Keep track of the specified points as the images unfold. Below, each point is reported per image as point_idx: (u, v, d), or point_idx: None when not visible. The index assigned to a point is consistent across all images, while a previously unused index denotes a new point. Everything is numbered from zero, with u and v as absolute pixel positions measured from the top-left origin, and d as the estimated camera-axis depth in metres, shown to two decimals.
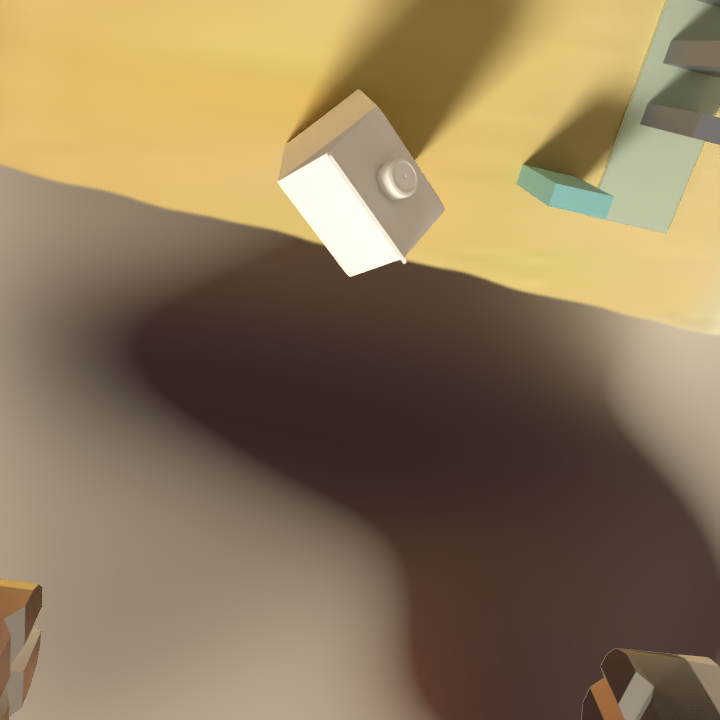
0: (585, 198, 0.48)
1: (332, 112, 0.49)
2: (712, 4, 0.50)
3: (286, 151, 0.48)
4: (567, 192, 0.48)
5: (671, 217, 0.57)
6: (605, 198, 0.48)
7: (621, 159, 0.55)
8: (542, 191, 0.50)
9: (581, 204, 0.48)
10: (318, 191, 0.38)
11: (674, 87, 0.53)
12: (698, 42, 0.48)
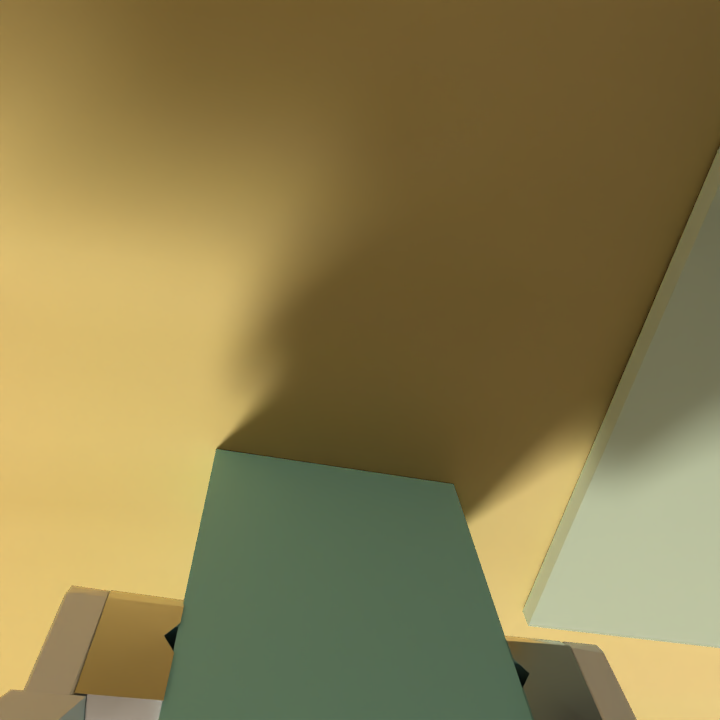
0: None
1: None
2: None
3: None
4: None
5: None
6: None
7: (663, 427, 0.12)
8: None
9: None
10: None
11: None
12: None
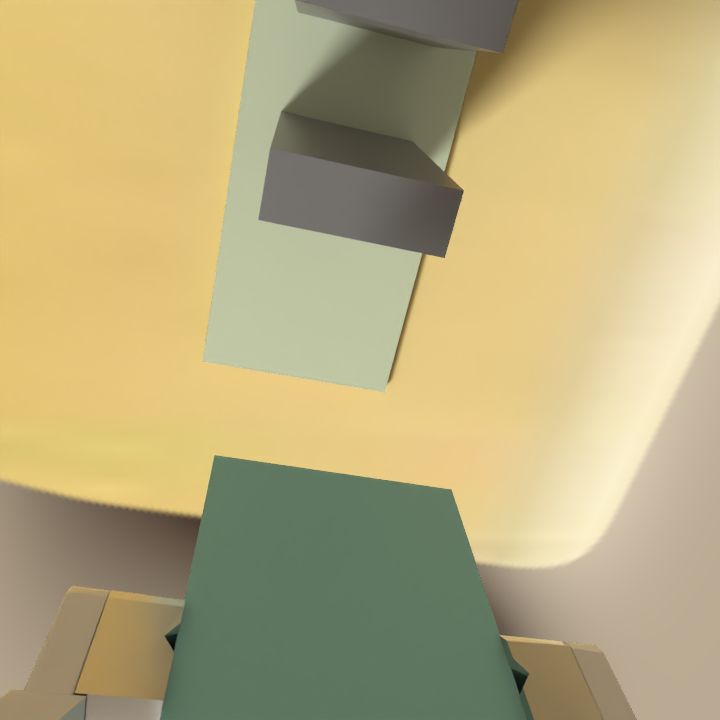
0: None
1: None
2: None
3: None
4: None
5: (390, 360, 0.26)
6: None
7: (246, 240, 0.24)
8: None
9: None
10: None
11: (340, 73, 0.22)
12: None
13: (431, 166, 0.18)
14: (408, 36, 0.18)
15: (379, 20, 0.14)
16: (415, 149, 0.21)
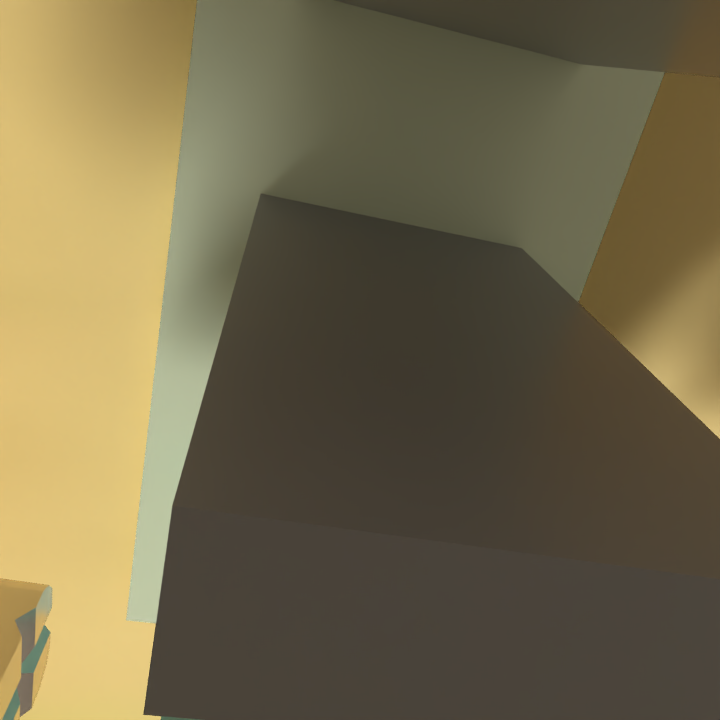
0: None
1: None
2: None
3: None
4: None
5: None
6: None
7: None
8: None
9: None
10: None
11: (382, 117, 0.10)
12: None
13: (646, 386, 0.07)
14: (584, 42, 0.07)
15: None
16: (550, 287, 0.10)
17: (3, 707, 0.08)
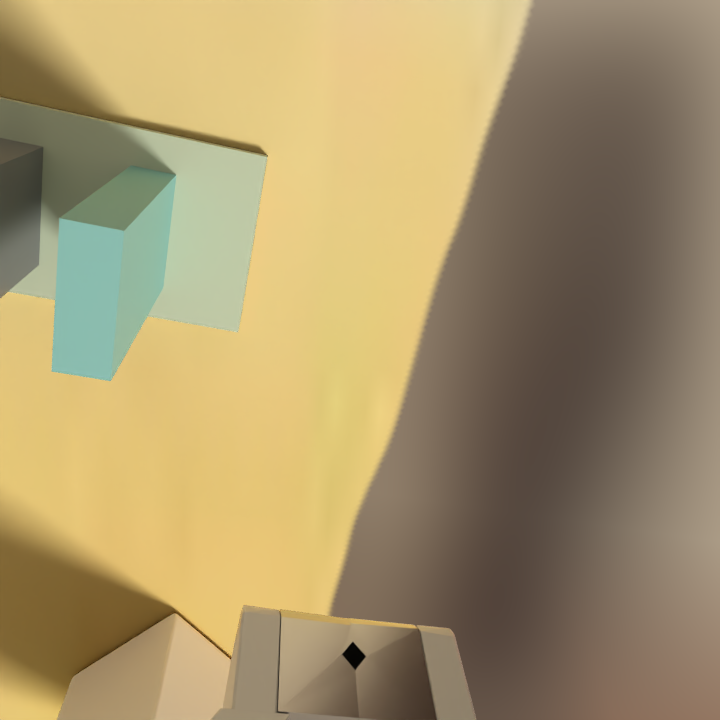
0: (77, 294, 0.18)
1: None
2: None
3: None
4: (69, 341, 0.19)
5: (228, 152, 0.25)
6: (67, 243, 0.18)
7: None
8: None
9: (93, 302, 0.18)
10: None
11: None
12: None
13: None
14: None
15: None
16: None
17: None
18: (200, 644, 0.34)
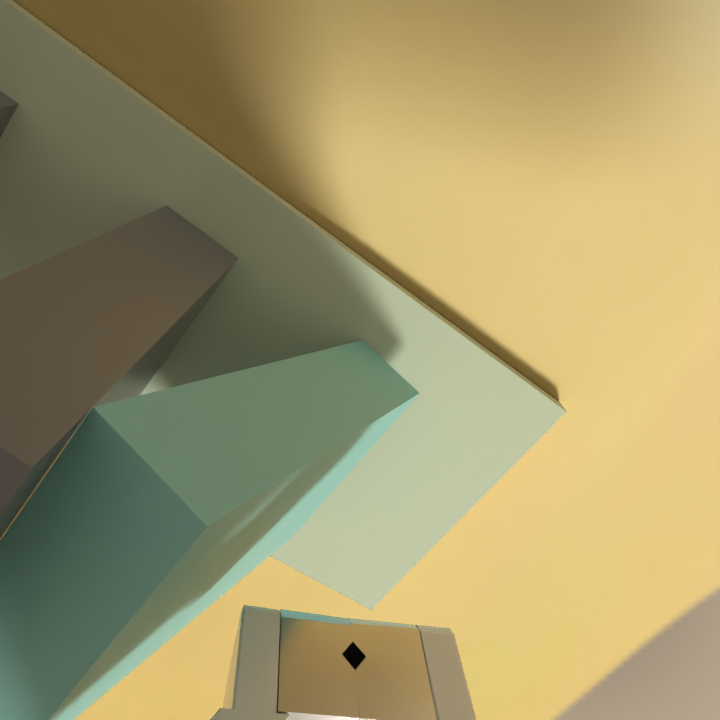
0: (32, 581, 0.07)
1: None
2: None
3: None
4: None
5: (518, 383, 0.15)
6: (76, 468, 0.07)
7: None
8: None
9: (54, 618, 0.07)
10: None
11: None
12: None
13: None
14: None
15: None
16: None
17: None
18: None
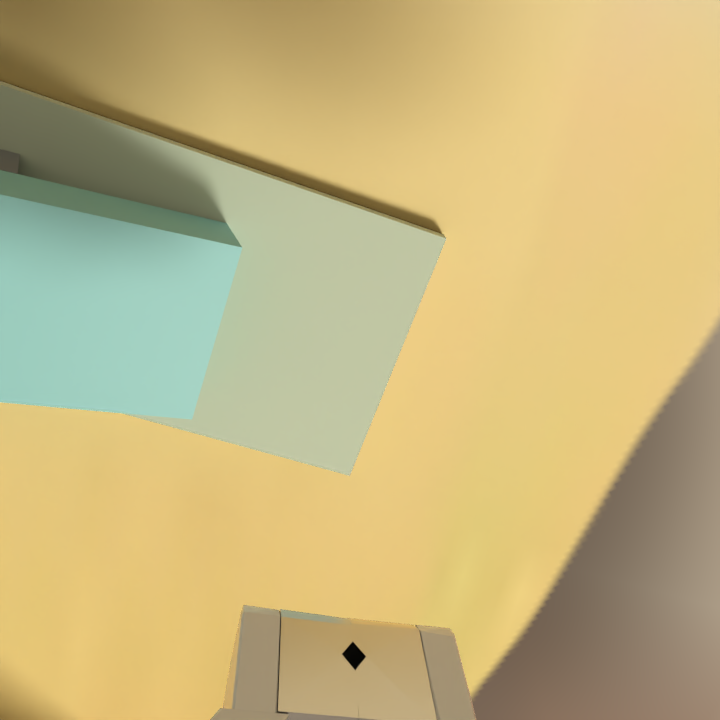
0: None
1: None
2: None
3: None
4: None
5: (390, 224, 0.16)
6: None
7: None
8: None
9: None
10: None
11: None
12: None
13: None
14: None
15: None
16: None
17: None
18: None
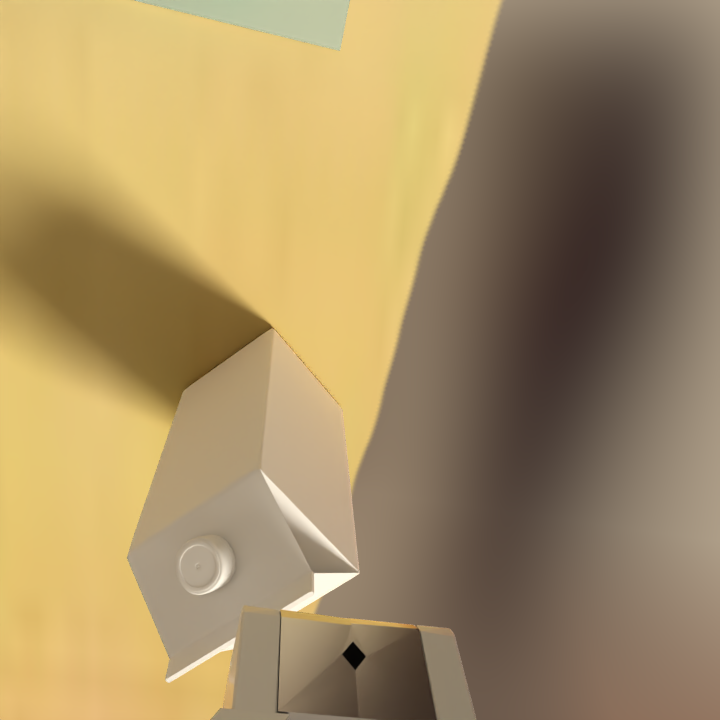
0: None
1: None
2: None
3: None
4: None
5: None
6: None
7: (245, 7, 0.33)
8: None
9: None
10: None
11: None
12: None
13: None
14: None
15: None
16: None
17: None
18: (293, 355, 0.41)
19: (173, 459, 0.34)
